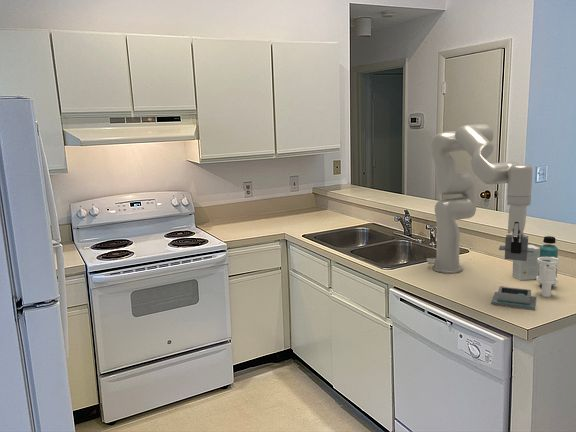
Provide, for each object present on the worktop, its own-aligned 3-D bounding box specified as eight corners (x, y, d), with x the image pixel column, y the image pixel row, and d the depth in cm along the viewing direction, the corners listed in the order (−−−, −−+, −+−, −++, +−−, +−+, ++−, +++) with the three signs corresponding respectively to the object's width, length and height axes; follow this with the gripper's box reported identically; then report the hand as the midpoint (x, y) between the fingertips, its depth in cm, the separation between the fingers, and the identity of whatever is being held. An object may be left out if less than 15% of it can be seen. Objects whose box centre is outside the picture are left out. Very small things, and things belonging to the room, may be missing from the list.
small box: (530, 274, 205) (531, 244, 202) (539, 279, 199) (541, 248, 196) (511, 275, 204) (513, 245, 202) (520, 280, 198) (521, 249, 195)
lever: (498, 258, 174) (499, 234, 173) (499, 255, 178) (500, 231, 176) (533, 261, 169) (534, 236, 167) (533, 258, 173) (534, 233, 171)
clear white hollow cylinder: (550, 300, 176) (553, 260, 174) (531, 295, 182) (533, 256, 179) (560, 295, 181) (563, 256, 178) (541, 290, 186) (543, 252, 183)
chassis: (491, 304, 175) (491, 292, 174) (494, 294, 185) (495, 282, 184) (534, 310, 169) (535, 297, 168) (536, 299, 178) (537, 287, 177)
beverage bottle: (558, 286, 190) (561, 236, 186) (553, 291, 185) (557, 239, 181) (540, 282, 194) (543, 233, 190) (535, 287, 190) (537, 237, 186)
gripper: (509, 196, 178) (506, 244, 182) (504, 204, 164) (502, 256, 168) (532, 196, 175) (529, 246, 178) (529, 205, 160) (526, 258, 164)
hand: (516, 250), depth 173 cm, fingers closed on lever, 4 cm apart
